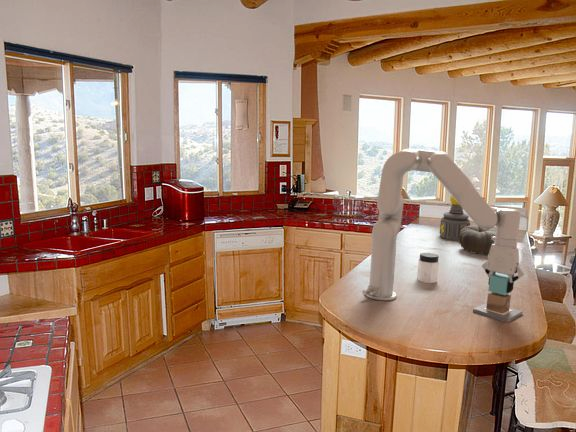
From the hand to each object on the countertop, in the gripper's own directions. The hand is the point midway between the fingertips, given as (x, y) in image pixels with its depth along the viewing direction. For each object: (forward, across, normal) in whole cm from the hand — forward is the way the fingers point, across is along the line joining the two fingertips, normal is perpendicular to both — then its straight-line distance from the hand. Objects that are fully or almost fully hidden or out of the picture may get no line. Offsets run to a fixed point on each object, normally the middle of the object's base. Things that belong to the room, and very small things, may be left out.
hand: (500, 289), depth 179 cm
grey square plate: (+9, 0, 0) cm, 9 cm away
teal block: (+1, 0, 0) cm, 1 cm away
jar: (+10, -39, +15) cm, 43 cm away
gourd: (+10, -51, +92) cm, 106 cm away
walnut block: (+8, 0, 0) cm, 8 cm away
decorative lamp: (+10, -81, +117) cm, 143 cm away
